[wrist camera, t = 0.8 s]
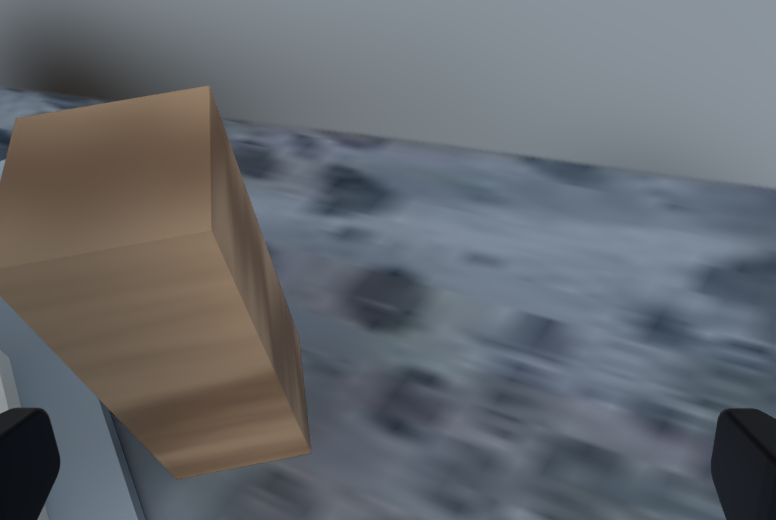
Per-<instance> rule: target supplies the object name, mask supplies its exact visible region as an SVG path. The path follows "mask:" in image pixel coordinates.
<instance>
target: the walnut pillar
mask: <svg viewBox="0 0 776 520" xmlns="http://www.w3.org/2000/svg"><path fill="white" fill-rule="evenodd" d="M0 297H1V298H2V299H3V300H4V301H5V302H6V303H7V304H8V305H9V306H10V307H11V308H12V309H13V310H14V311H15V312H16V313H17V314H18V315H19V316H20V317H21V318H22V319H23V320H24V321H25V323H26V324H27V325H28V326H29V327H30V328H31V329H32V330H33V331H34V332H35V333H36V334H37V335H38V336H39V337H40V338H41V339H42V340H43V341H44V342H45V343H46V344H47V345H48V346H49V347H50V349H51V350H52V351H53V352H54V353H55V354H56V355H57V356H58V357H59V358H60V359H61V360H62V361H63V362H64V363H65V364H66V365H67V366H68V367H69V368H70V369H71V370H72V371H73V372H74V373H75V375H76V376H77V377H78V378H79V379H80V380H81V381H82V382H83V383H84V384H85V385H86V386H87V387H88V388H89V389H90V390H91V391H92V392H93V393H94V394H95V395H96V396H97V397H98V398H99V399H100V400H101V402H102V403H103V404H104V405H105V406H106V407H107V408H108V409H109V410H110V411H111V412H112V413H113V414H114V415H115V416H116V417H117V418H118V419H119V420H120V421H121V422H122V423H123V424H124V425H125V426H126V428H127V429H128V430H129V431H130V432H131V433H132V434H133V435H134V436H135V437H136V438H137V439H138V440H139V441H140V442H141V443H142V444H143V445H144V446H145V447H146V448H147V449H148V450H149V451H150V452H151V454H152V455H153V456H154V457H155V458H156V459H157V460H158V461H159V462H160V463H161V464H162V465H163V466H164V467H165V468H166V469H167V470H168V471H169V472H170V473H171V474H172V475H173V476H174V477H175V478H176V479H182V478H187V477H192V476H197V475H202V474H207V473H213V472H218V471H223V470H228V469H233V468H238V467H243V466H249V465H254V464H259V463H264V462H269V461H274V460H280V459H285V458H290V457H295V456H300V455H305V454H311V446H310V436H309V427H308V417H307V408H306V398H305V389H304V379H303V370H302V360H301V351H300V341H299V336H298V333H297V331H296V328H295V325H294V322H293V319H292V317H291V314H290V311H289V308H288V305H287V303H286V300H285V297H284V294H283V291H282V288H281V286H280V283H279V280H278V277H277V274H276V272H275V269H274V266H273V263H272V260H271V258H270V255H269V252H268V249H267V246H266V243H265V241H264V238H263V235H262V232H261V229H260V227H259V224H258V221H257V218H256V215H255V213H254V210H253V207H252V204H251V201H250V198H249V196H248V193H247V190H246V187H245V184H244V182H243V179H242V176H241V173H240V170H239V168H238V165H237V162H236V159H235V156H234V153H233V151H232V148H231V145H230V142H229V139H228V137H227V134H226V131H225V128H224V125H223V123H222V120H221V117H220V114H219V111H218V109H217V106H216V103H215V100H214V97H213V95H212V92H211V89H210V86H204V87H198V88H192V89H186V90H181V91H174V92H169V93H163V94H157V95H151V96H145V97H139V98H133V99H127V100H121V101H115V102H109V103H103V104H98V105H92V106H86V107H80V108H74V109H68V110H62V111H56V112H50V113H44V114H38V115H33V116H27V117H21V118H16V120H15V124H14V128H13V132H12V136H11V140H10V144H9V148H8V152H7V156H6V160H5V164H4V168H3V172H2V176H1V180H0Z"/></svg>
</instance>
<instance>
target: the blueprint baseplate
mask: <svg viewBox="0 0 776 520" xmlns="http://www.w3.org/2000/svg"><path fill="white" fill-rule="evenodd" d="M5 160H6V159H5ZM5 160H3V161H0V180H1V176H2V172H3V168H4V164H5ZM16 407H22V408H42V409H44V410H45V411H46V412H47V413H48V415H49V417H50V420H51V424H52V428H53V431H54V435H55V439H56V442H57V446H58V450H59V453H60V462H61V463H60V470H59V473H58V476H57V478H56V481H55V483H54V485H53V487H52V489H51V492H50V494H49V496H48V498H47V500H46V502H45V505H44V507H43V509H42V511H41V513H40V516H39V518H38V520H146V519H145V516H144V513H143V510H142V507H141V504H140V501H139V498H138V495H137V492H136V489H135V486H134V483H133V480H132V477H131V474H130V471H129V468H128V465H127V462H126V459H125V456H124V453H123V450H122V447H121V444H120V441H119V438H118V435H117V432H116V429H115V426H114V423H113V420H112V417H111V414H110V411H109V409H108V408H107V407H106V406H105V405H104V404H103V403H102V402H101V400H100V399H99V398H98V397H97V396H96V395H95V394H94V393H93V392H92V391H91V390H90V389H89V388H88V387H87V386H86V385H85V384H84V383H83V382H82V381H81V380H80V379H79V378H78V377H77V376H76V375H75V373H74V372H73V371H72V370H71V369H70V368H69V367H68V366H67V365H66V364H65V363H64V362H63V361H62V360H61V359H60V358H59V357H58V356H57V355H56V354H55V353H54V352H53V351H52V350H51V349H50V347H49V346H48V345H47V344H46V343H45V342H44V341H43V340H42V339H41V338H40V337H39V336H38V335H37V334H36V333H35V332H34V331H33V330H32V329H31V328H30V327H29V326H28V325H27V324H26V323H25V321H24V320H23V319H22V318H21V317H20V316H19V315H18V314H17V313H16V312H15V311H14V310H13V309H12V308H11V307H10V306H9V305H8V304H7V303H6V302H5V301H4V300H3V299H2V298H1V297H0V413H2V412H5V411H7V410H9V409H12V408H16Z"/></svg>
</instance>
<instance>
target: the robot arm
mask: <svg viewBox="0 0 776 520" xmlns="http://www.w3.org/2000/svg"><path fill="white" fill-rule="evenodd" d="M60 463H61V462H60V453H59V450H58V446H57V442H56V439H55V435H54V431H53V428H52V424H51V420H50V417H49V415H48V413H47V412H46V411H45V410H44V409H42V408H22V407H16V408H12V409H9V410H7V411H5V412H2V413H0V520H38V518H39V516H40V513H41V511H42V509H43V507H44V505H45V502H46V500H47V498H48V496H49V494H50V492H51V489H52V487H53V485H54V483H55V481H56V478H57V476H58V473H59V470H60ZM711 474H712V479H713V482H714V485H715V488H716V491H717V494H718V497H719V500H720V503H721V506H722V508H723V511H724V514H725V517H726V520H776V419H775V418H773V417H771V416H769V415H768V414H766V413H764V412H762V411H760V410H758V409H754V408H727V409H724V410H723V411H722V412H721V413H720V415H719V417H718V421H717V427H716V433H715V440H714V446H713V452H712V458H711Z"/></svg>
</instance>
